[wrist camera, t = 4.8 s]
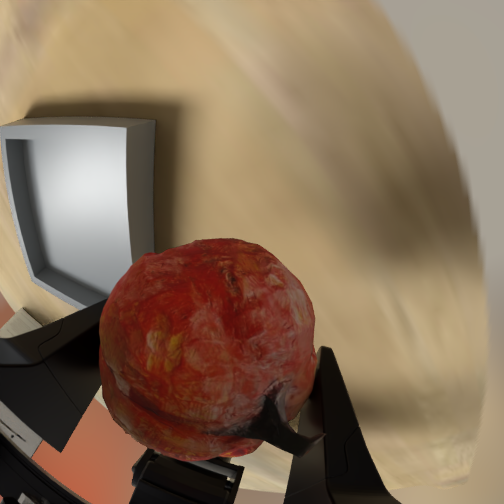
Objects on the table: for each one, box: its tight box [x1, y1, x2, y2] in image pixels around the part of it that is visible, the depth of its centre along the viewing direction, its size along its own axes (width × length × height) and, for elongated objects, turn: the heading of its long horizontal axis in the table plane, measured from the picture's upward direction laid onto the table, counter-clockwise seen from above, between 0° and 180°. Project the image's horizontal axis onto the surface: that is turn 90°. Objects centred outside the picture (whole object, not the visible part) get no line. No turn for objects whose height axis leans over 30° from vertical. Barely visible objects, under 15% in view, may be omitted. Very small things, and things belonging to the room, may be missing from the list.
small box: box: [0, 308, 43, 338], centre depth 29 cm, size 8×6×13 cm
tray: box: [0, 116, 156, 310], centre depth 18 cm, size 15×14×2 cm
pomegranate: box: [99, 238, 326, 461], centre depth 9 cm, size 7×7×10 cm
